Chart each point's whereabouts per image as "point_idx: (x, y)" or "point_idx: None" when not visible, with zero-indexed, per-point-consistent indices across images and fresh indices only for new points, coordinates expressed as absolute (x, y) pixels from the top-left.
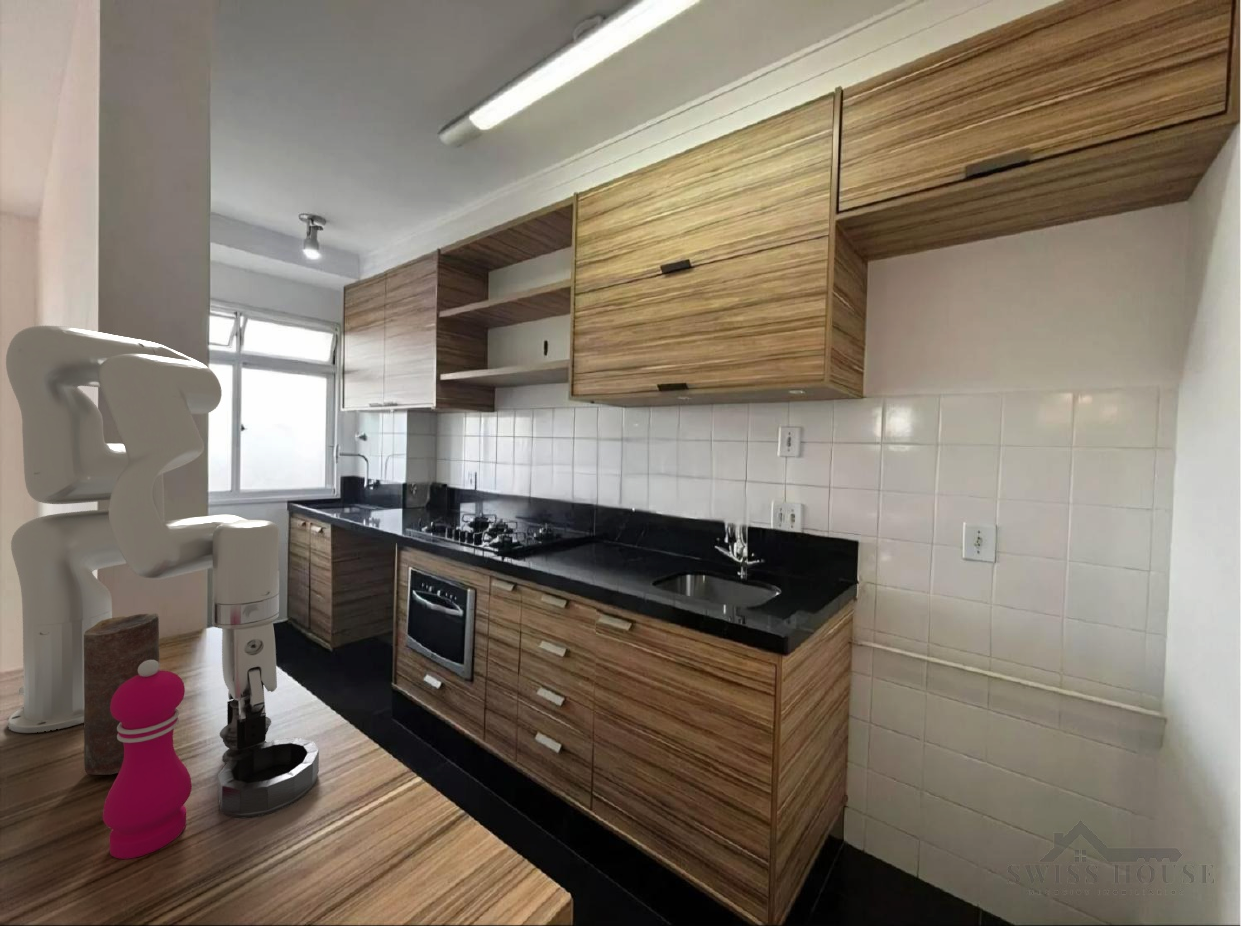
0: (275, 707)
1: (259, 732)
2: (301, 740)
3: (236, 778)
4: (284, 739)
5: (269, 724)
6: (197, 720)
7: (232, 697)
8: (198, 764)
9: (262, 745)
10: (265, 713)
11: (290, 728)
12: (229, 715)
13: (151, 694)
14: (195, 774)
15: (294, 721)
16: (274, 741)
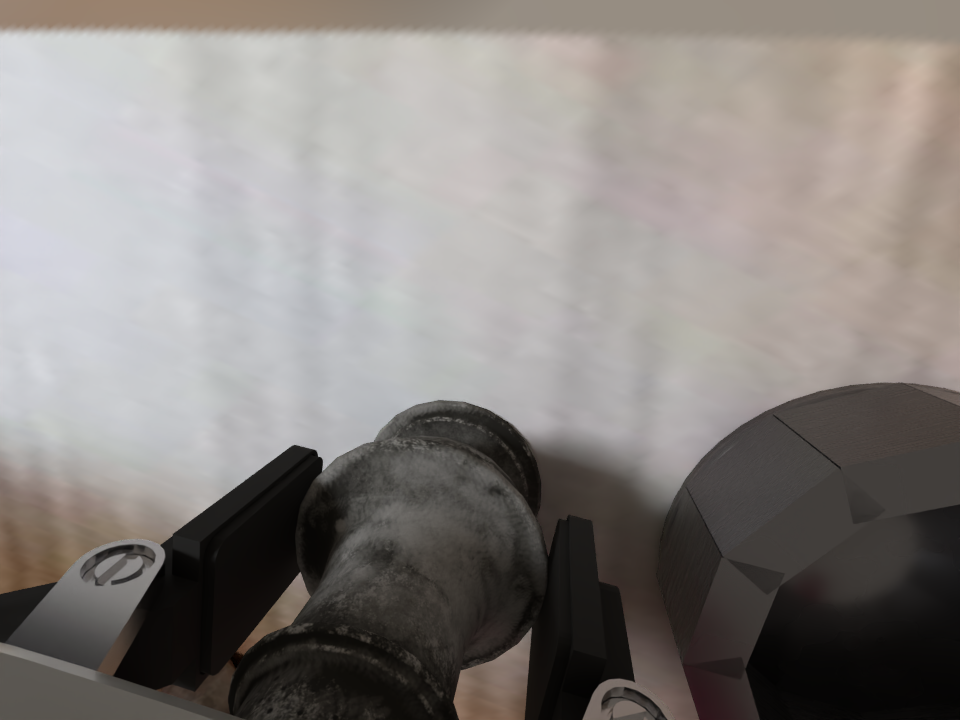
0: (121, 214)
1: (623, 614)
2: (917, 467)
3: (751, 685)
4: (782, 518)
5: (498, 479)
6: (38, 477)
7: (159, 689)
8: None
9: (722, 616)
10: (606, 660)
11: (400, 265)
12: (264, 613)
13: None
14: None
15: (342, 217)
16: (742, 559)
